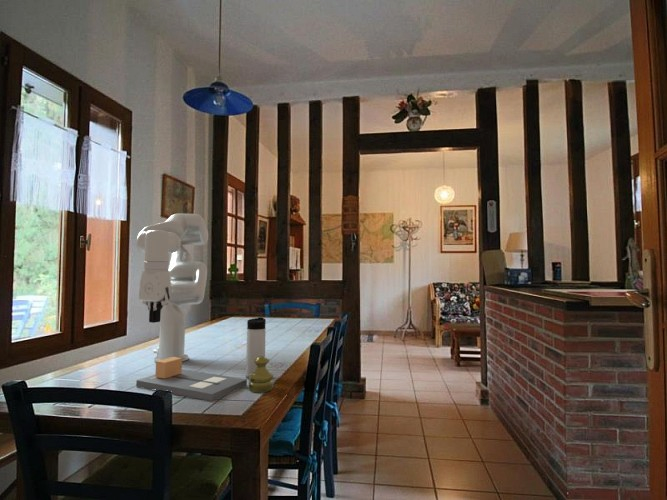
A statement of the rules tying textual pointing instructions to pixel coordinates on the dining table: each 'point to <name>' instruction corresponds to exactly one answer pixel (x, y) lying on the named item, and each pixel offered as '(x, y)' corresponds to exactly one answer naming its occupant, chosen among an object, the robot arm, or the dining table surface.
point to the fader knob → (168, 367)
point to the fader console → (195, 384)
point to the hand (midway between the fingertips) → (154, 321)
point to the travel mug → (255, 342)
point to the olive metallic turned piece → (261, 376)
